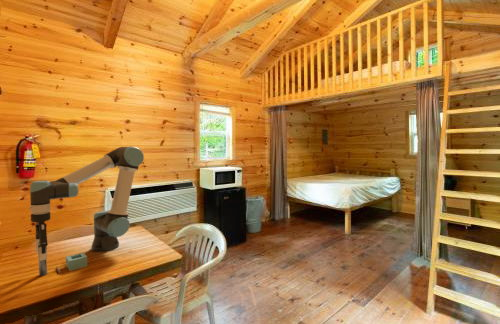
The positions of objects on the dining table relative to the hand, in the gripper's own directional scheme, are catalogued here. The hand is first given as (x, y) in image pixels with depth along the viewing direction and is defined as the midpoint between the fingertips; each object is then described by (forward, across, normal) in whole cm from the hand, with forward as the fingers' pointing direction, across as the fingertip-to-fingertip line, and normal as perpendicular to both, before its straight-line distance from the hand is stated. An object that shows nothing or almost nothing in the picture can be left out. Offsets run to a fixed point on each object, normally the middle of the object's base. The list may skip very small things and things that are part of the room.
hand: (41, 255), depth 128 cm
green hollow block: (+9, 0, +14) cm, 17 cm away
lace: (+10, 0, +6) cm, 12 cm away
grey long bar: (+10, 0, 0) cm, 10 cm away
